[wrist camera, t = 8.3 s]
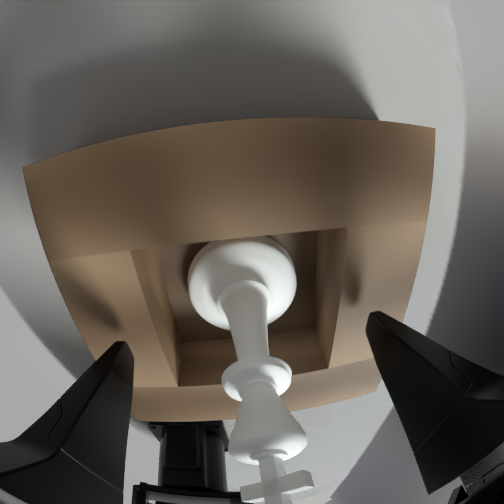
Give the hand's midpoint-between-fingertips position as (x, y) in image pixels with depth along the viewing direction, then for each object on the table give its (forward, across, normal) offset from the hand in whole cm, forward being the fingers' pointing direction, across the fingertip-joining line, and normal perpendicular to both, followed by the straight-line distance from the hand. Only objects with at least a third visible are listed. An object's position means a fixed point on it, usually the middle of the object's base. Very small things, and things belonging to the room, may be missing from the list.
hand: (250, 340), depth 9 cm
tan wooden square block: (+5, 0, 0) cm, 5 cm away
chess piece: (+4, 0, 0) cm, 4 cm away
